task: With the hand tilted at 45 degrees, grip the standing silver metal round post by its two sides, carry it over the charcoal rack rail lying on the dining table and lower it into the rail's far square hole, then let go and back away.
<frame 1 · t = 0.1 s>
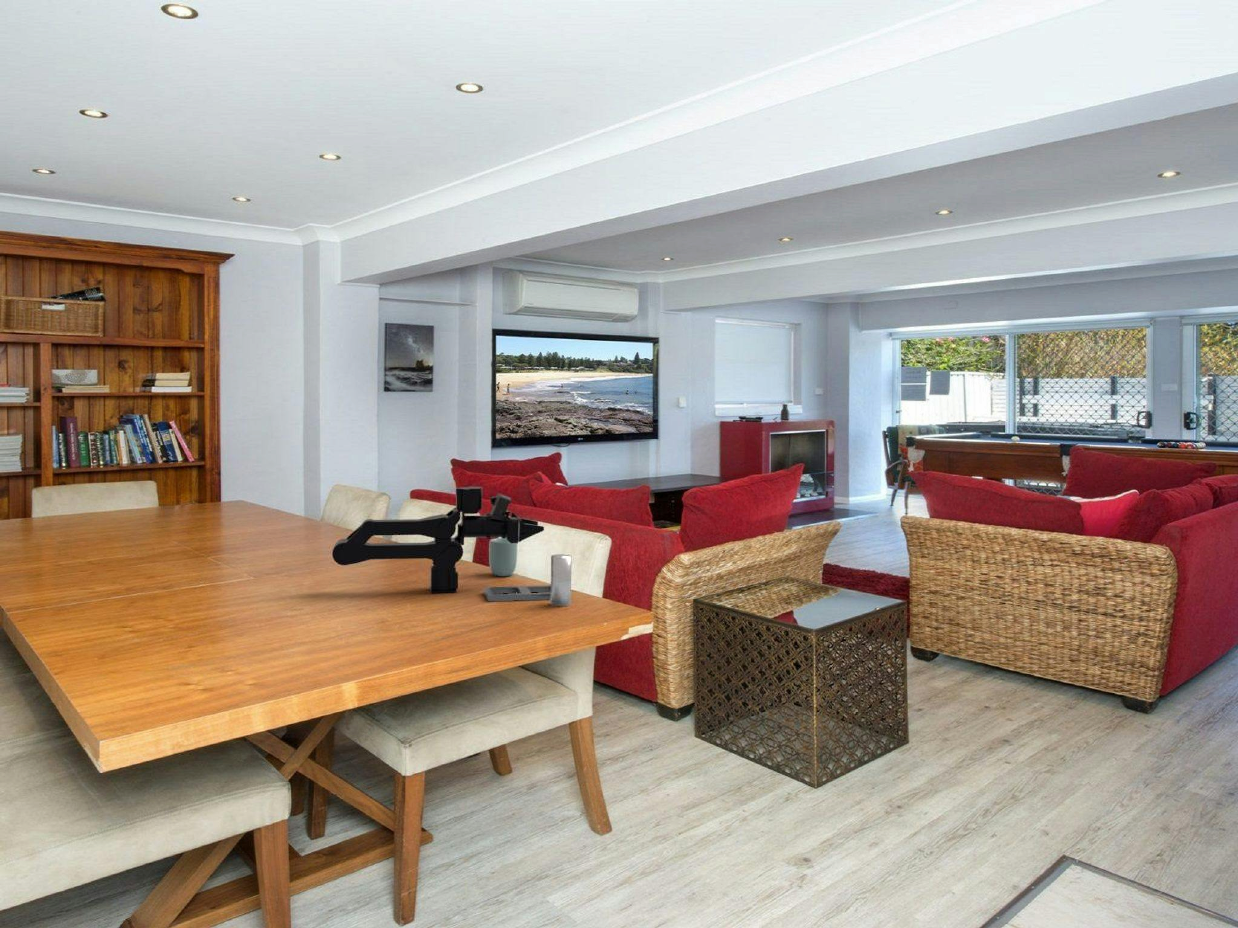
hand: (540, 525, 237), 17 cm above the table, tool horizontal, fingers open, 9 cm apart
cup: (502, 575, 254), on the table
rail: (525, 595, 228), on the table
peg: (560, 604, 220), on the table
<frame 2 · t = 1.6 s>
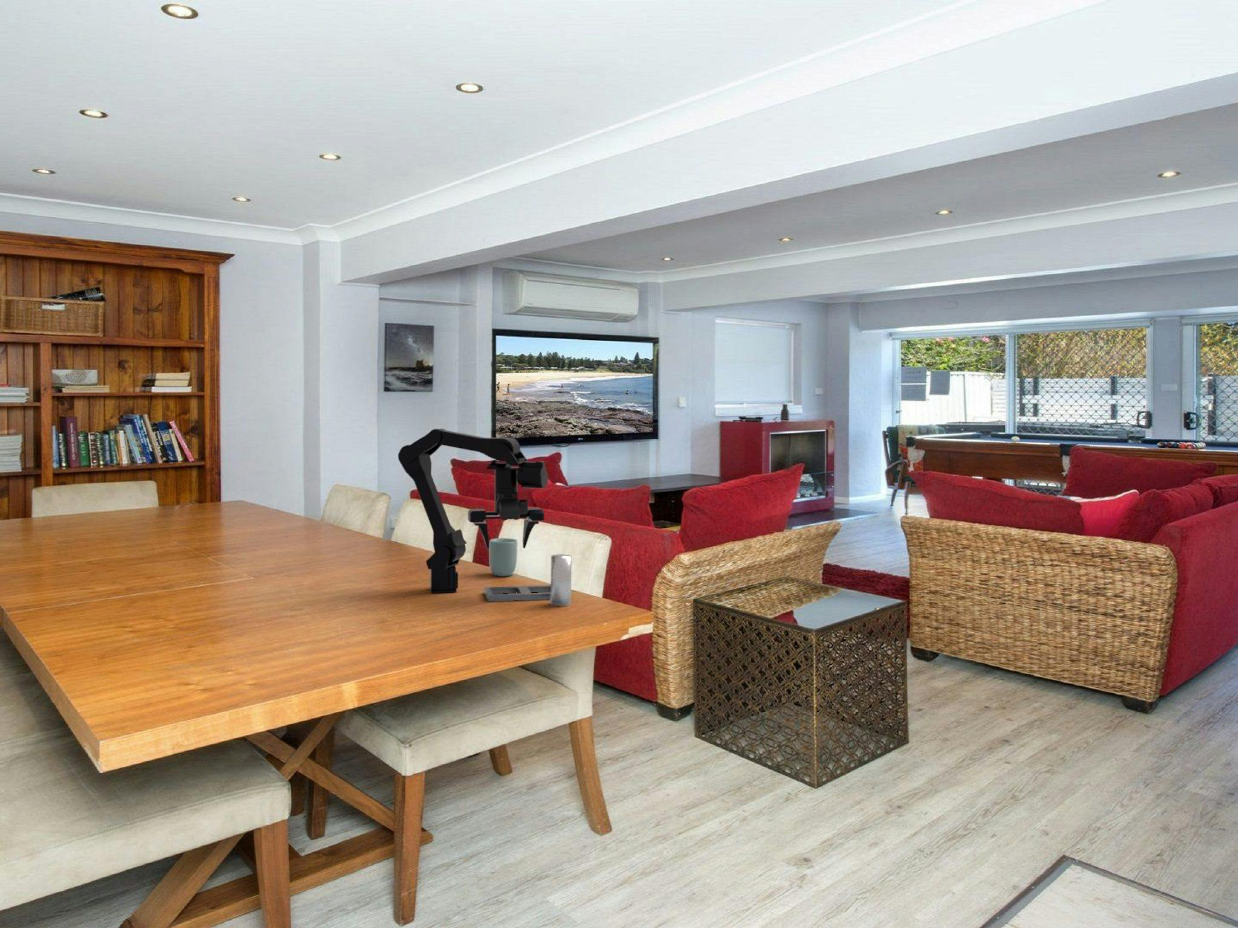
hand: (506, 548, 227), 12 cm above the table, tool pointing down, fingers open, 9 cm apart
nothing on the table moved.
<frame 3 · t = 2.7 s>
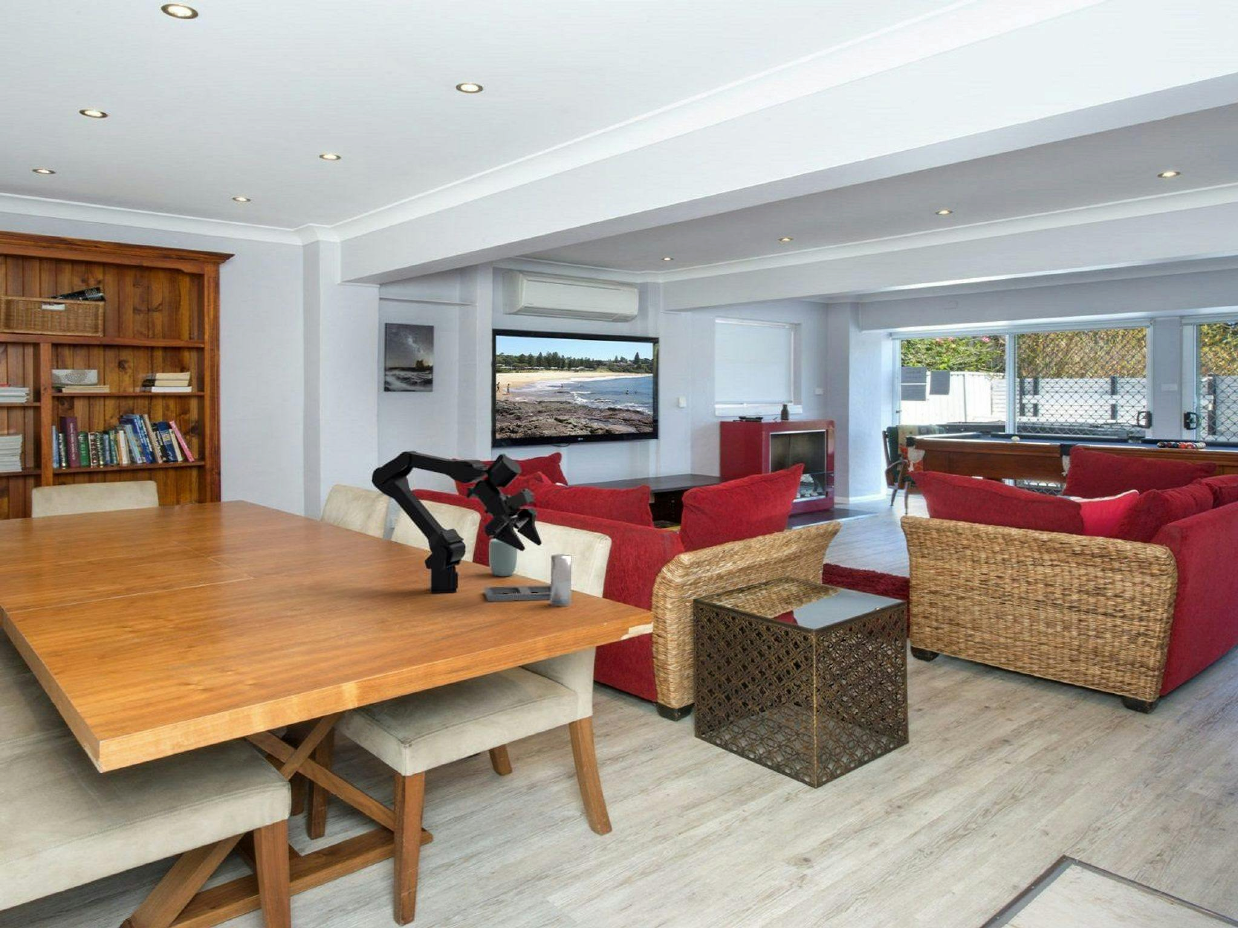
hand: (532, 547, 222), 13 cm above the table, tool tilted 45°, fingers open, 9 cm apart
nothing on the table moved.
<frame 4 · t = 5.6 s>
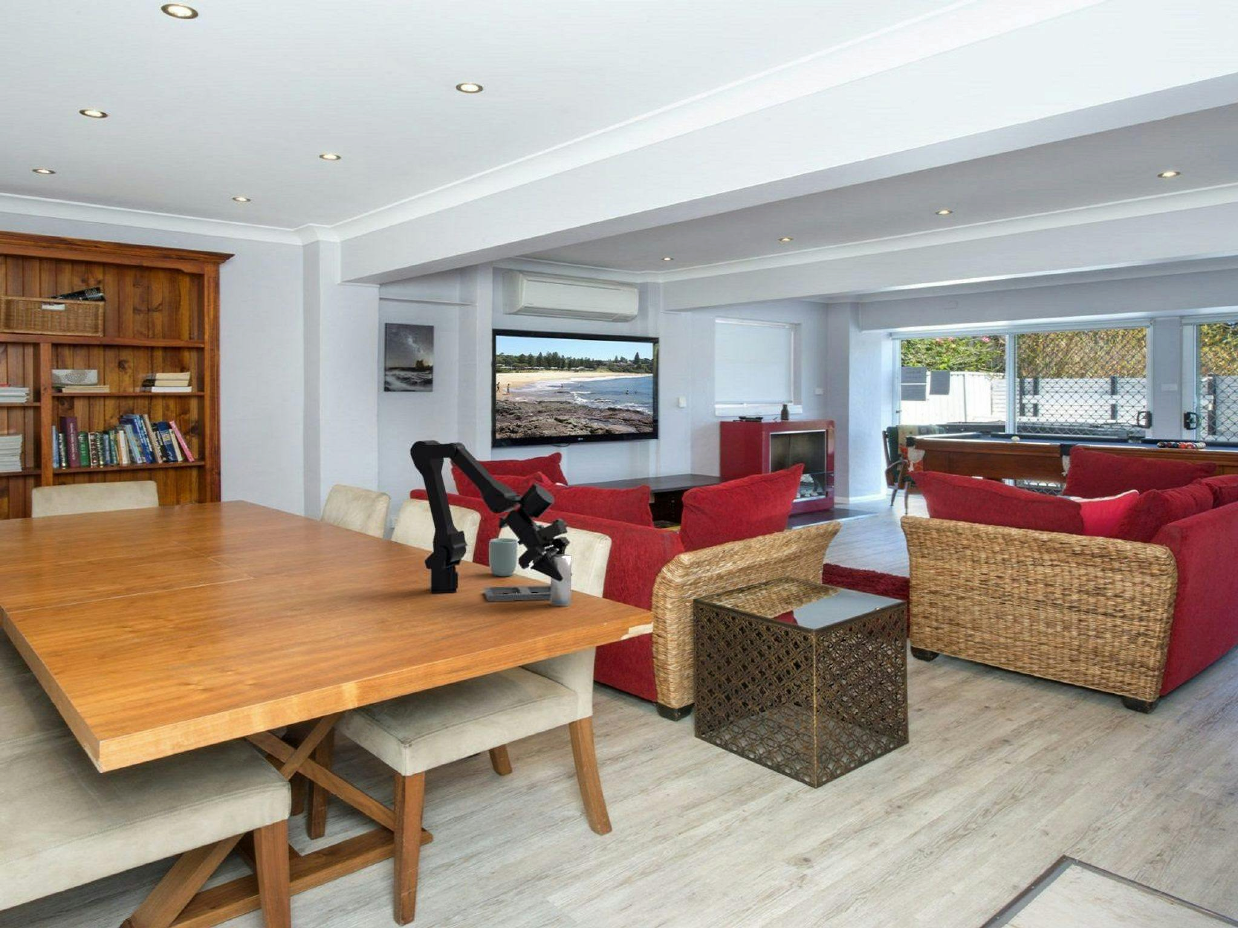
hand: (566, 578, 219), 7 cm above the table, tool tilted 45°, fingers closed on peg, 5 cm apart
peg: (560, 604, 220), on the table, touching gripper
everything else where it was.
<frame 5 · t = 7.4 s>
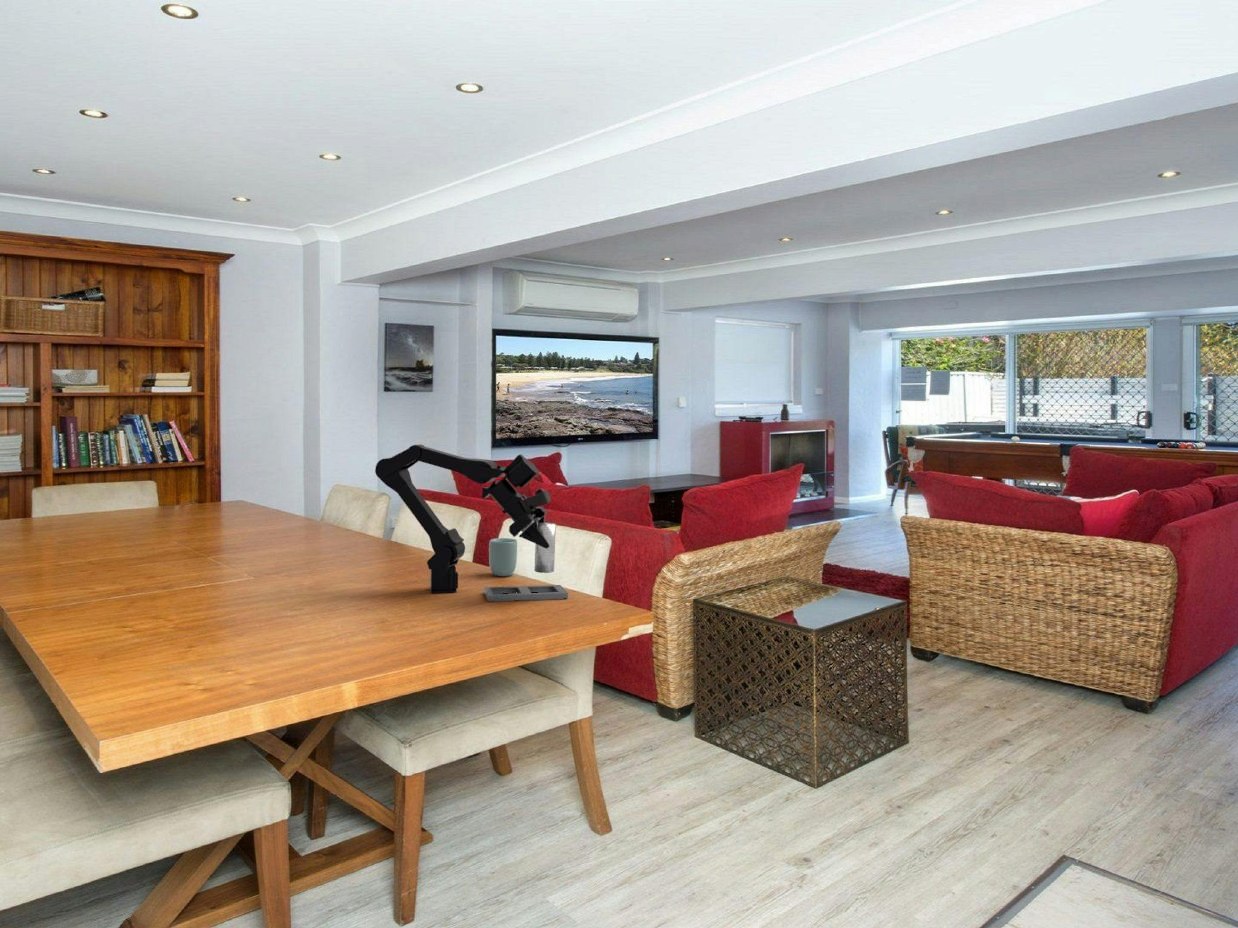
hand: (550, 545, 227), 13 cm above the table, tool tilted 45°, fingers closed on peg, 5 cm apart
peg: (544, 570, 228), point 7 cm above the table, touching gripper
everything else where it was.
when the fingers open (7 cm above the table, at t = 9.3 s): peg stays where it is, resting in rail.
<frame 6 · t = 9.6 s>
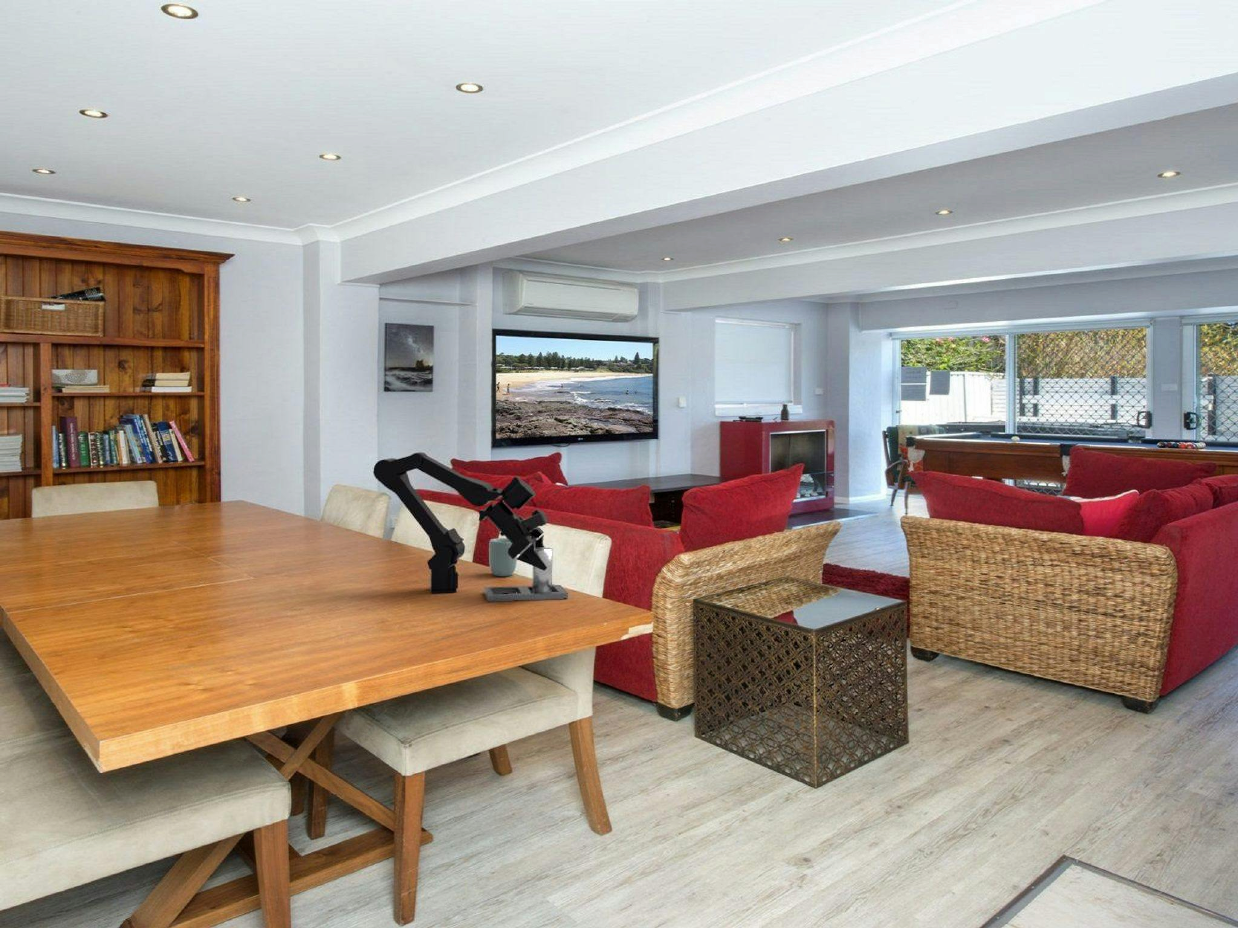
hand: (548, 566, 229), 8 cm above the table, tool tilted 45°, fingers open, 8 cm apart
peg: (542, 595, 229), resting in rail
everything else where it was.
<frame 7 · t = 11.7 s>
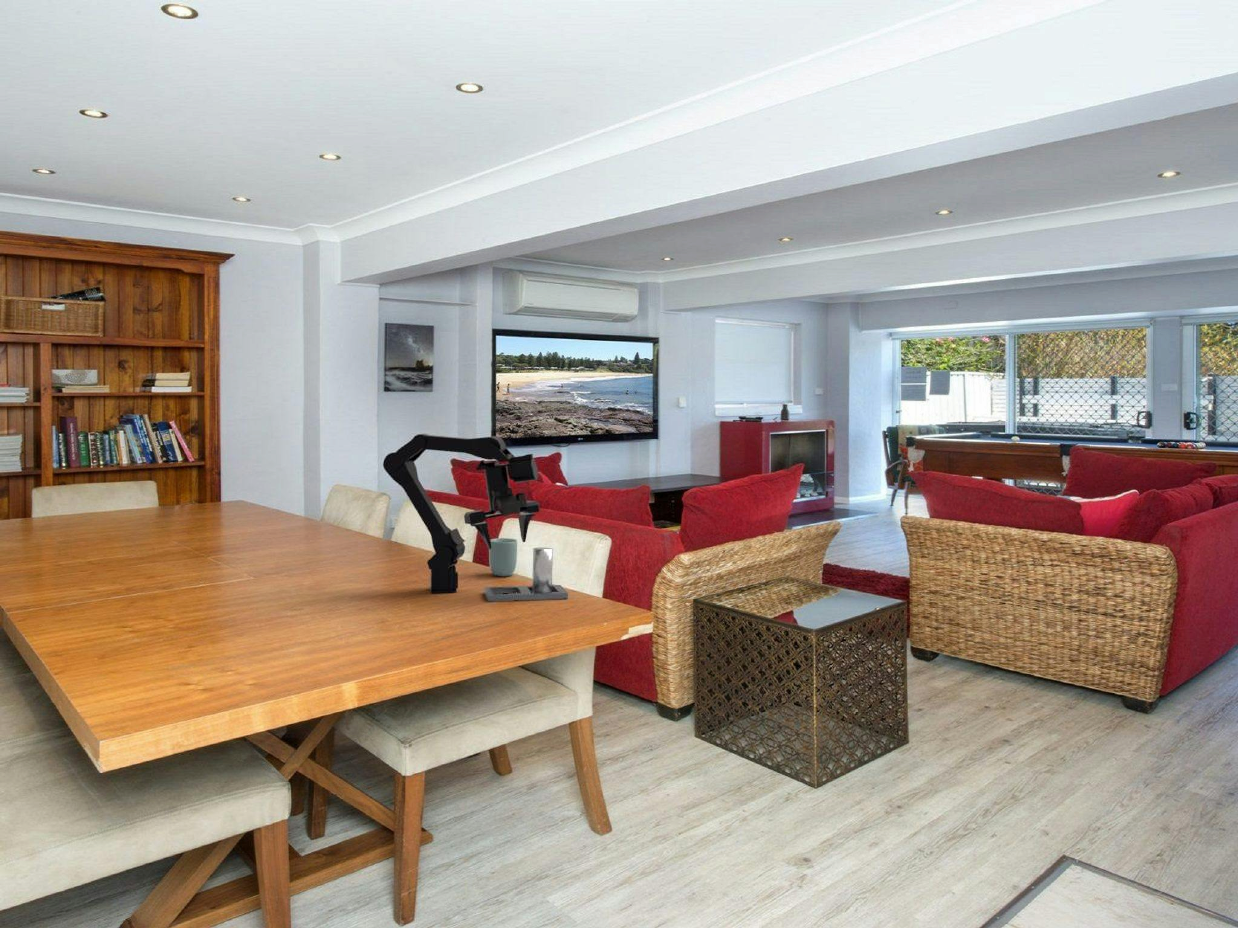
hand: (507, 545, 229), 13 cm above the table, tool pointing down, fingers open, 9 cm apart
nothing on the table moved.
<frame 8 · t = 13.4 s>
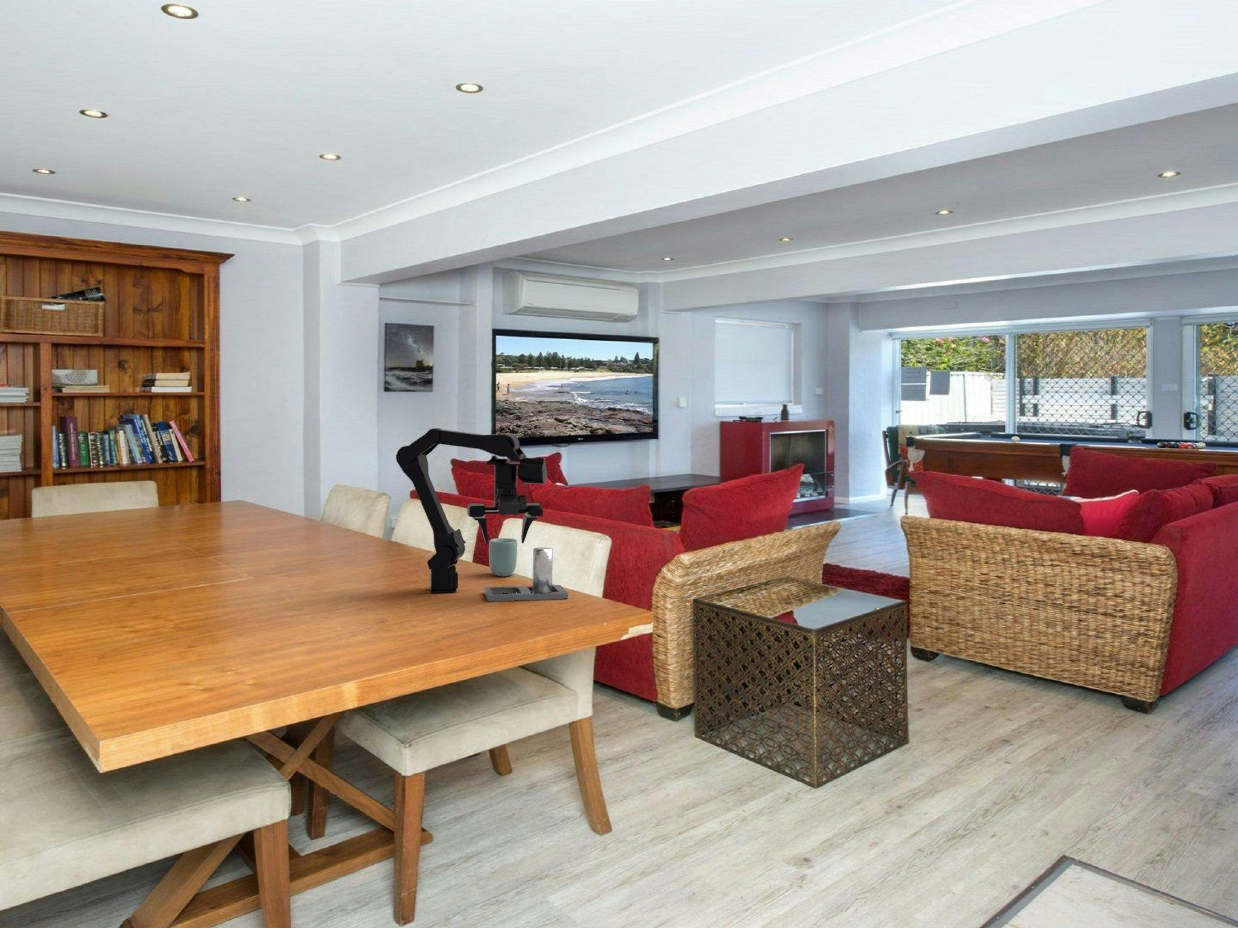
hand: (504, 543, 229), 13 cm above the table, tool pointing down, fingers open, 9 cm apart
nothing on the table moved.
at the end: peg 0.2 cm from the target spot on the rail, point 0.0 cm above the rail's base; peg tilted 0°; the gripper is holding nothing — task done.
